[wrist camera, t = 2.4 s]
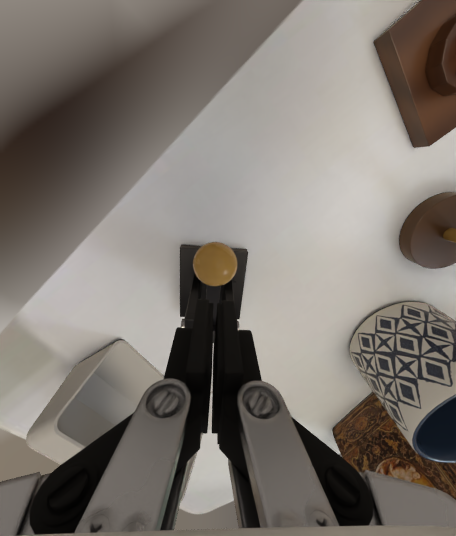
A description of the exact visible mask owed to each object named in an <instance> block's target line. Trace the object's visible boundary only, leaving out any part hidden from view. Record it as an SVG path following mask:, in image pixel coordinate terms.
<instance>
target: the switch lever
mask: <svg viewBox="0 0 456 536" xmlns="http://www.w3.org/2000/svg"><path fill="white" fill-rule="evenodd" d="M193 268H194V272H195V274H196V276H197V277H198V279H199V280H200V281H202V282H203V283H205V284H207V290H206V299H209V303H214V310H213V343H214V339H215V326H216V314H217V303H219V297H220V288H221V285H224V284H226V283H228V282H229V281H230V280H231V279H232V278H233V277H234V275H235V273H236V270H237V258H236V255H235V253H234V252H233V250H232V249H231V248H230V247H228V246H227V245H225V244H223V243H220V242H211V243H207V244H205V245H203V246H202V247H201V248H200V249H199V250H198V251H197V252H196V254H195V256H194V260H193Z"/></svg>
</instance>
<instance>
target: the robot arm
mask: <svg viewBox="0 0 456 536" xmlns="http://www.w3.org/2000/svg"><path fill="white" fill-rule="evenodd" d="M213 310H214V303H209V299H197V303H196V310H195V316H194V323H193V328H177V329H176V332H175V336H174V340H173V344H172V348H171V352H170V356H169V360H168V364H167V368H166V372H165V376H164V379H163V380H159V381H158V382H156V383H154V384H152V385H151V386H150V387H149V388H148V389H147V390H146V391H145V393H144V394H143V396H142V398H141V400H140V402H139V404H138V406H137V408H136V410H135V412H134V413H133V414H131V415H130V416H128V417H127V418H126V419H124V420H123V421H121V422H120V423H119V424H117V425H116V426H114V427H113V428H112V429H110V430H109V431H107V432H106V433H105V434H103V435H102V436H100V437H99V438H98V439H96V440H95V441H93V442H92V443H91V444H89V445H88V446H86V447H85V448H84V449H82V450H81V451H79V452H78V453H77V454H75V455H74V456H72V457H71V458H70V459H68V460H67V461H66V462H64V463H63V464H61V465H60V466H59V467H58V468H57V469H55V470H54V471H53V472H52V473H50V474H45V475H42V476H41V474H40V472H37V473H34V474H30V475H25V476H21V477H17V478H14V479H10V480H6V481H2V482H0V536H456V500H455V499H454V498H452V497H451V496H450V495H448V494H447V493H445V492H442V491H440V490H438V489H436V488H432V487H428V486H424V485H421V484H417V483H413V482H410V481H406V480H402V479H399V478H395V477H391V476H387V475H384V474H380V473H376V472H373V471H369V470H365V472H364V473H362V472H358V471H357V470H356V469H355V468H354V467H353V466H352V465H351V464H350V463H348V462H347V461H346V460H345V459H343V458H342V457H340V455H338V454H337V453H336V452H335V451H333V450H332V449H331V448H330V447H328V446H327V445H326V444H325V443H323V442H322V441H321V440H320V439H318V438H317V437H316V436H314V435H313V434H312V433H311V432H309V431H308V430H307V429H306V428H304V427H303V426H302V425H301V424H299V423H298V422H297V421H296V420H294V419H293V418H292V417H291V416H290V413H289V411H288V409H287V407H286V404H285V402H284V400H283V398H282V396H281V394H280V393H279V391H278V390H277V389H276V388H275V387H274V386H272V385H270V384H268V383H266V382H263V381H262V380H261V375H260V370H259V365H258V361H257V356H256V351H255V347H254V342H253V337H252V333H251V331H250V330H238V326H237V318H236V310H235V303H234V301H230V300H222V303H217V314H216V326H215V339H214V353H213V400H212V433H218V444H219V449H220V450H221V451H222V452H223V453H224V454H225V455H226V457H227V458H228V465H229V471H230V477H231V483H232V490H233V496H234V502H235V508H236V514H237V520H238V526H239V529H203V530H202V529H201V530H174V527H175V523H176V519H177V514H178V510H179V505H180V501H181V496H182V492H183V487H184V483H185V478H186V474H187V469H188V464H189V460H190V459H191V458H192V457H193V455H194V454H195V453H196V452H197V451H198V450H199V449H200V440H201V433H207V428H208V415H209V403H210V390H211V377H212V348H213Z"/></svg>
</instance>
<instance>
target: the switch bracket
mask: <svg viewBox="0 0 456 536" xmlns="http://www.w3.org/2000/svg"><path fill="white" fill-rule="evenodd" d="M201 247H202V246H190V245H181V247H180V317H185V319H182V322H181V328H193V323H194V316H195V310H196V303H197V299H206V290H207V284H205V283H203V282H202V281H200V280H199V279H198V277H197V276H196V274H195V272H194V268H193V260H194V256H195V254H196V252H197V251H198V250H199V249H200V248H201ZM231 249H232V250H233V252H234V253H235V255H236V258H237V270H236V273H235V275H234V277H233V278H232V279H231V280H230V281H229V282H228V283H226V284H224V285H221V288H220V297H219V303H222V300H230V301H234V303H235V310H236V318H237V319H239V318H240V310H241V302H242V295H243V287H244V279H245V272H246V264H247V256H248V251H247V249H234V248H231ZM237 326H238V330H239V321H237Z"/></svg>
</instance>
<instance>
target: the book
mask: <svg viewBox="0 0 456 536" xmlns="http://www.w3.org/2000/svg"><path fill="white" fill-rule="evenodd" d="M333 435H334V438H335V441H336V443H337V446H338V448H339V450H340V452H341V455H342V457H343V459H345V460H346V461H347V462H348V463H350V464H351V465H352V466H353V467H354V468H355V469H356V470H357V471H358V472H362V473H364V472H365V470H369V471H373V472H376V473H380V474H384V475H387V476H391V477H395V478H399V479H402V480H406V481H410V482H413V483H417V484H421V485H424V486H428V487H432V488H436V489H438V490H440V491H442V492H445V493H447V494H448V495H450V496H451V497H452V498H454V499H455V500H456V463H439V462H434V461H430V460H427V459H425V458H423V457H421V456H420V455H418V454H417V453H416V452H415V450H414V449H413V448H412V446H411V445H410V444H409V442H408V441H407V439H406V438H405V437H404V435H403V434H402V432H401V431H400V429H399V428H398V427H397V425H396V424H395V422H394V421H393V419H392V418H391V416H390V415H389V414H388V412H387V411H386V409H385V408H384V406H383V405H382V404H381V402H380V401H379V399H378V398H377V396H376V395H375V393H374V392H372V393H371V394H370V395H369V396H368V397H367V398H366V399H365V400H363V401H362V402H361V403H360V404H359V405H358V406H357V407H356V408H354V409H353V410H352V411H351V412H350V413H349V414H348V415H347V416H346V417H344V418H343V419H342V420H341V421H340V422H339V423H338V424H337V425H336V426H335V427H334V428H333Z"/></svg>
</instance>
